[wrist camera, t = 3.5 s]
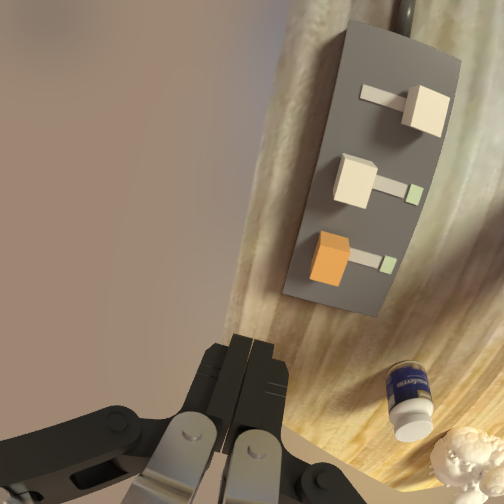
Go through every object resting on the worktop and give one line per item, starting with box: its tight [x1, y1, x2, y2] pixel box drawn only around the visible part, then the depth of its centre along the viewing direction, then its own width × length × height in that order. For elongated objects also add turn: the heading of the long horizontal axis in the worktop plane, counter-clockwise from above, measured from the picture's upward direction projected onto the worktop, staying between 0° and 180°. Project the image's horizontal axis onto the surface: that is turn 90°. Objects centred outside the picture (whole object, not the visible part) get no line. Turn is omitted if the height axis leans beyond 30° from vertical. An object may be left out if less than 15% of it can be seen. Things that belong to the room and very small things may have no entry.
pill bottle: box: [386, 361, 433, 442], centre depth 33 cm, size 6×6×10 cm
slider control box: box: [283, 0, 461, 317], centre depth 25 cm, size 32×10×4 cm, turn 169°
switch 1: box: [310, 231, 350, 286], centre depth 27 cm, size 2×3×3 cm
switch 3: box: [401, 85, 450, 137], centre depth 20 cm, size 2×3×3 cm
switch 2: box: [333, 153, 378, 209], centre depth 23 cm, size 2×3×3 cm
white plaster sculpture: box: [429, 426, 504, 504], centre depth 38 cm, size 19×20×20 cm
